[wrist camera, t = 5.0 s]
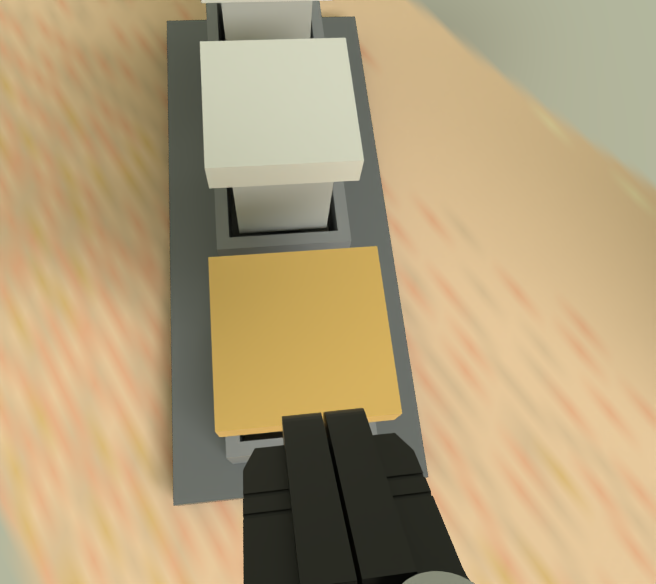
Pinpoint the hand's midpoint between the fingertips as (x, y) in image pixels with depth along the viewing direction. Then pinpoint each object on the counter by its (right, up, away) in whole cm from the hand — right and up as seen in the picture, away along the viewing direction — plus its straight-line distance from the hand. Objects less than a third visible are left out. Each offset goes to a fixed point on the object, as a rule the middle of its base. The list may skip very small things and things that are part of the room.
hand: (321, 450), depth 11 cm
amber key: (-1, 0, +11) cm, 11 cm away
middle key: (-2, +7, +14) cm, 16 cm away
